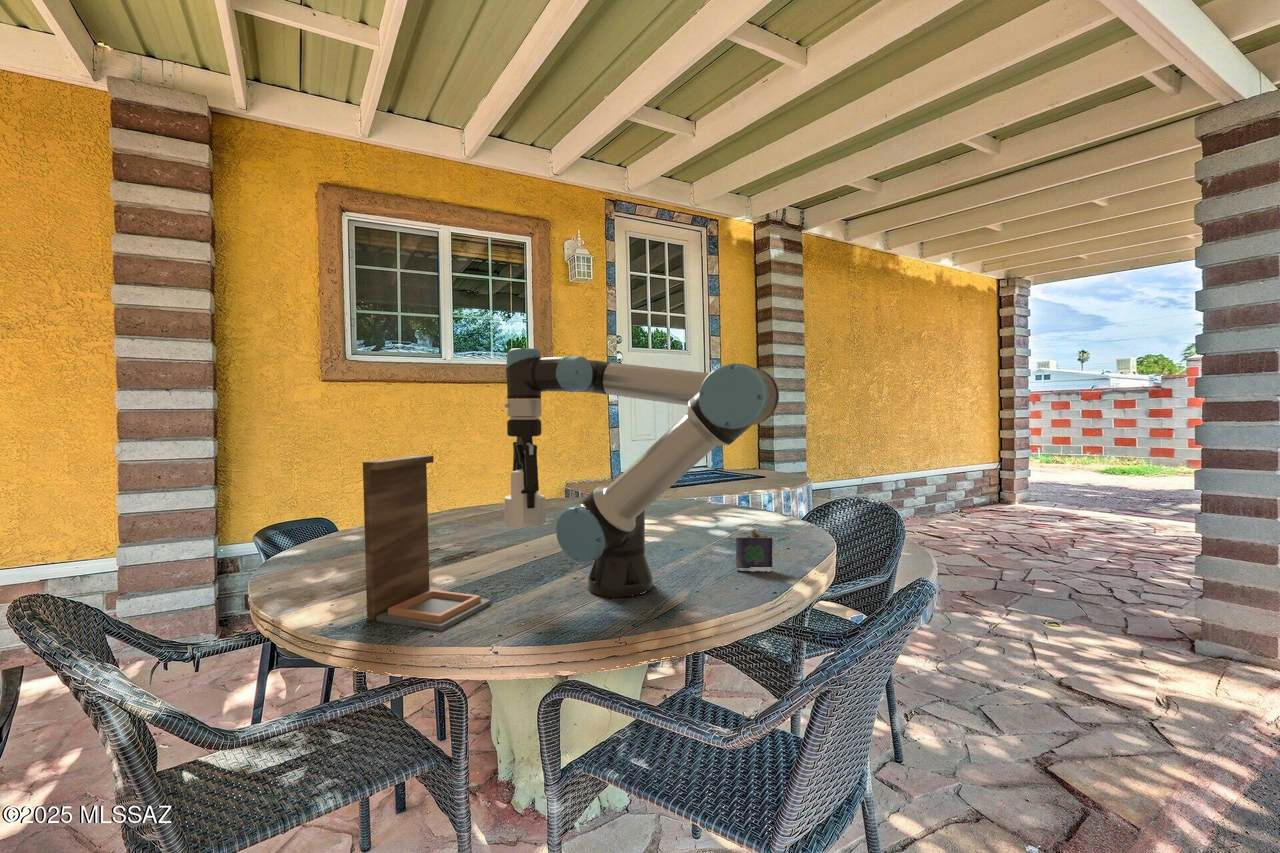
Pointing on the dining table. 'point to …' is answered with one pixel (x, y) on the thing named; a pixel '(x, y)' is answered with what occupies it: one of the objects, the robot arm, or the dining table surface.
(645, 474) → the robot arm
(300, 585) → the dining table surface
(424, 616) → the square coaster tray
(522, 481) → the cylinder with rectangular tab
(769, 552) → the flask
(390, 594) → the brown wooden panel
